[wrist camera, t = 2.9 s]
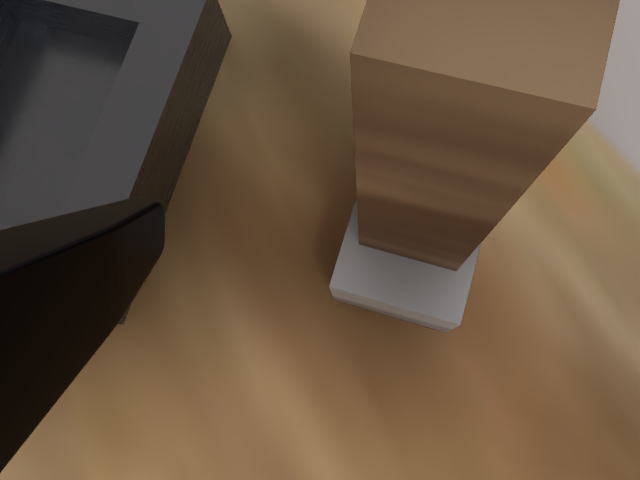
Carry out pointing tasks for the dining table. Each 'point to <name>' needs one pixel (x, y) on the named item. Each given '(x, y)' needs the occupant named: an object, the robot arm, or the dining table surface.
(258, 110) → the dining table surface
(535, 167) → the slot cleaner tool
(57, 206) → the holder block
